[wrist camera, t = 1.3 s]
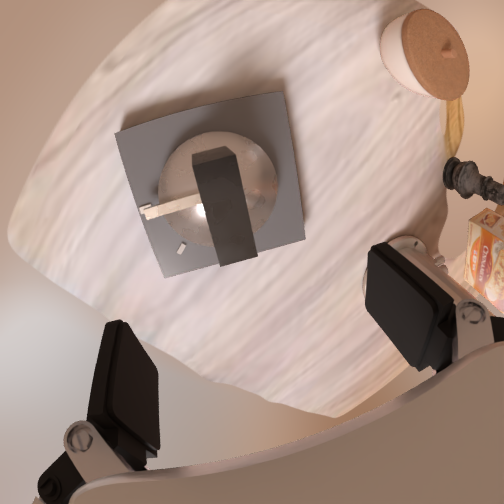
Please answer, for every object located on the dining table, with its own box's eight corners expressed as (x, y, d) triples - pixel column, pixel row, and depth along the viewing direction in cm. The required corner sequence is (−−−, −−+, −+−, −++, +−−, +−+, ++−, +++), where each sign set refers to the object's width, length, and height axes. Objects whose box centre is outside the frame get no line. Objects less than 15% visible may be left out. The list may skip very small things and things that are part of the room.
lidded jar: (388, 6, 21) (439, -9, 13) (436, 65, 25) (488, 67, 17) (348, 51, 24) (402, 38, 15) (405, 113, 28) (460, 122, 20)
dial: (262, 119, 24) (288, 122, 18) (281, 224, 30) (307, 258, 23) (131, 154, 23) (109, 169, 16) (165, 256, 28) (160, 299, 22)
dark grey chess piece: (448, 149, 32) (512, 172, 21) (466, 163, 33) (523, 187, 23) (437, 184, 34) (498, 215, 23) (456, 195, 36) (511, 225, 25)
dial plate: (276, 92, 25) (283, 90, 23) (299, 232, 33) (306, 240, 31) (119, 132, 23) (113, 133, 22) (165, 269, 31) (164, 279, 29)
